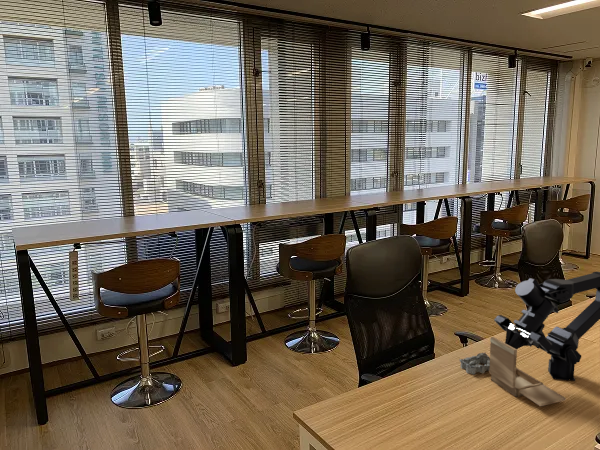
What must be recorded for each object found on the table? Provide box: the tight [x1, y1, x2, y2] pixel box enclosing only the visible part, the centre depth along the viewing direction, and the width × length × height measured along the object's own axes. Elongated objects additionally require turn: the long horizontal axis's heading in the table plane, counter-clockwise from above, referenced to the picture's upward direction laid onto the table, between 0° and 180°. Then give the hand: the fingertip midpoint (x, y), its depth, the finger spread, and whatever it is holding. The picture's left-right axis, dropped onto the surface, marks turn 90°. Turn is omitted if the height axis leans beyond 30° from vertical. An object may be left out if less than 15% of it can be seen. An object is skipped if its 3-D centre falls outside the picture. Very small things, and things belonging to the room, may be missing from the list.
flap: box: [488, 336, 518, 388], centre depth 146 cm, size 1×10×12 cm, turn 18°
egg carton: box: [459, 352, 490, 375], centre depth 160 cm, size 11×8×4 cm
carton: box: [490, 367, 566, 407], centre depth 145 cm, size 10×20×2 cm, turn 18°
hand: (504, 354), depth 146 cm, fingers closed, pressing on flap
